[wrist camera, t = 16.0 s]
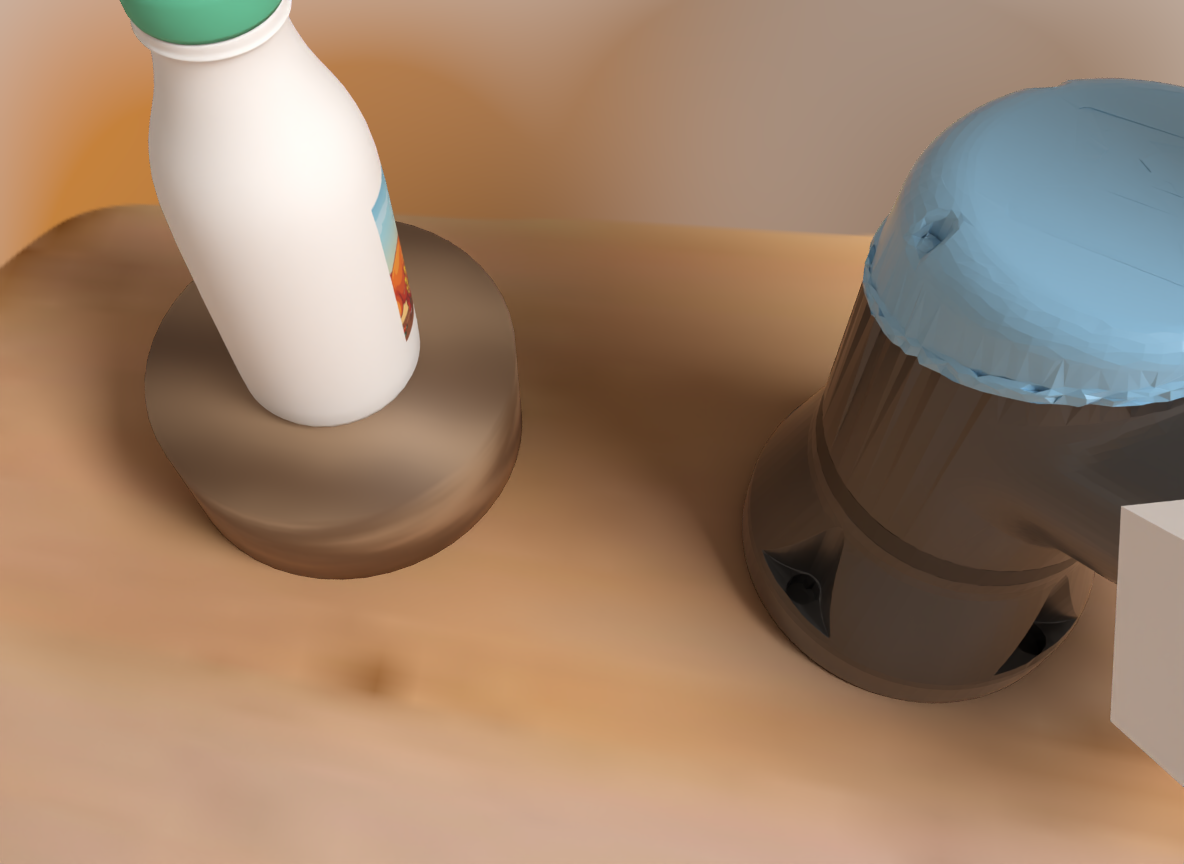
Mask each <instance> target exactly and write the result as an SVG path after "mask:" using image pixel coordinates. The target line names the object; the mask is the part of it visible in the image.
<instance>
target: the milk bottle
mask: <svg viewBox="0 0 1184 864" xmlns="http://www.w3.org/2000/svg"><path fill="white" fill-rule="evenodd" d="M120 2H121V4H122V6H123V8H124V10H125V12H126V14H127V15H128V17H129V18H130V20H131V26H132V29H133V32H134V34H135V35H136V37H137V38H138V39H139V40H140V42H141V43H142V44H143V45H145V46H146V47H147V48H148V49H150V50H151V54H152V60H153V70H154V95H153V103H152V110H151V116H150V125H149V139H148V143H149V161H150V168H151V174H152V179H153V183H154V187H155V190H156V194H157V197H158V200H159V204H160V206H161V209H162V211H163V213H164V216H165V218H166V221H167V223H168V225H169V228H170V230H171V232H172V235H173V237H174V239H175V242H176V244H177V246H178V248H179V250H180V253H181V255H182V257H183V259H184V261H185V263H186V265H187V267H188V269H189V271H190V274H191V276H192V278H193V280H194V282H195V284H196V286H197V288H198V290H199V292H200V294H201V297H202V299H203V301H204V303H205V305H206V307H207V309H208V311H209V313H210V315H211V317H212V319H213V321H214V323H215V325H216V327H217V329H218V331H219V333H220V335H221V337H222V339H223V341H224V343H225V345H226V347H227V349H228V351H229V353H230V355H231V357H232V359H233V361H234V363H235V365H236V367H237V369H238V371H239V373H240V375H241V377H242V379H243V381H244V382H245V384H246V386H247V388H248V389H249V391H250V393H251V394H252V395H253V397H254V398H255V399H256V400H257V401H258V402H259V404H261V405H262V406H263V407H264V408H265V409H267V410H268V411H270V412H271V413H273V414H275V415H277V416H278V417H281V418H283V419H285V420H288V421H291V422H294V423H296V424H299V425H307V426H312V427H335V426H339V425H345V424H351V423H353V422H356V421H359V420H362V419H365V418H367V417H369V416H371V415H372V414H374V413H376V412H378V411H380V410H382V409H383V408H384V407H385V406H386V405H388V404H389V403H390V402H392V401H393V400H394V399H395V398H396V397H397V396H398V394H399V393H400V392H401V391H402V390H403V389H404V388H405V386H406V384H407V382H408V381H409V379H410V378H411V376H412V374H413V372H414V370H415V367H416V365H417V362H418V358H419V352H420V337H419V330H418V324H417V318H416V314H415V309H414V304H413V300H412V295H411V290H410V286H409V281H408V277H407V272H406V268H405V263H404V259H403V254H402V250H401V245H400V241H399V236H398V232H397V228H396V223H395V219H394V215H393V211H392V206H391V202H390V198H389V194H388V190H387V185H386V181H385V177H384V174H383V170H382V166H381V163H380V159H379V156H378V152H377V149H376V145H375V143H374V140H373V138H372V135H371V133H370V131H369V128H368V125H367V123H366V121H365V119H364V117H363V115H362V113H361V112H360V110H359V108H358V106H357V104H356V103H355V101H354V100H353V99H352V97H351V95H350V94H349V93H348V91H347V90H346V88H345V87H344V86H343V85H342V83H341V82H340V81H339V80H338V79H337V78H336V77H335V75H333V74H332V72H331V71H330V70H329V69H328V68H327V67H326V66H325V65H324V64H323V63H322V62H321V61H320V60H319V59H318V58H317V57H316V56H315V54H314V53H313V52H312V51H311V50H310V49H309V47H308V46H307V45H306V44H305V42H304V41H303V39H302V38H301V36H300V35H299V33H298V32H297V30H296V29H295V27H294V25H293V24H292V22H291V20H290V18H289V14H290V10H291V4H292V0H120Z"/></svg>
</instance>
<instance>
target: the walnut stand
mask: <svg viewBox="0 0 1184 864" xmlns="http://www.w3.org/2000/svg"><path fill="white" fill-rule="evenodd" d="M395 223H396V228H397V232H398V236H399V241H400V245H401V250H402V254H403V259H404V263H405V268H406V272H407V277H408V281H409V286H410V290H411V295H412V300H413V304H414V309H415V314H416V318H417V324H418V330H419V337H420V352H419V358H418V362H417V365H416V367H415V370H414V372H413V374H412V376H411V378H410V379H409V381H408V382H407V384H406V386H405V388H404V389H403V390H402V391H401V392H400V393H399V394H398V396H397V397H396V398H395V399H394V400H393V401H392V402H390V403H389V404H388V405H386V406H385V407H384V408H383V409H382V410H380V411H378V412H376V413H374V414H372V415H371V416H369V417H367V418H365V419H362V420H359V421H356V422H353V423H351V424H345V425H339V426H335V427H312V426H307V425H299V424H296V423H294V422H291V421H288V420H285V419H283V418H281V417H278V416H277V415H275V414H273V413H271V412H270V411H268V410H267V409H265V408H264V407H263V406H262V405H261V404H259V402H258V401H257V400H256V399H255V398H254V397H253V395H252V394H251V393H250V391H249V389H248V388H247V386H246V384H245V382H244V381H243V379H242V377H241V375H240V373H239V371H238V369H237V367H236V365H235V363H234V361H233V359H232V357H231V355H230V353H229V351H228V349H227V347H226V345H225V343H224V341H223V339H222V337H221V335H220V333H219V331H218V329H217V327H216V325H215V323H214V321H213V319H212V317H211V315H210V313H209V311H208V309H207V307H206V305H205V303H204V301H203V299H202V297H201V294H200V292H199V290H198V288H197V286H196V284H195V282H194V280H193V281H192V282H191V283H190V284H189V285H188V286H187V287H186V288H185V289H184V291H183V292H182V293H181V294H180V295H179V297H178V298H177V299H176V300H175V302H174V303H173V304H172V306H171V307H170V309H169V311H168V312H167V314H166V315H165V317H164V318H163V320H162V322H161V324H160V326H159V328H158V331H157V333H156V335H155V337H154V339H153V342H152V346H151V349H150V352H149V356H148V359H147V366H146V373H145V401H146V407H147V412H148V417H149V421H150V423H151V426H152V429H153V431H154V434H155V437H156V439H157V441H158V442H159V444H160V446H161V447H162V449H163V451H164V452H165V454H166V456H167V457H168V459H169V460H170V462H171V463H172V465H173V466H174V468H175V469H176V471H177V472H178V473H179V475H180V476H181V478H182V479H183V481H184V482H185V484H186V485H187V487H188V488H189V489H190V491H191V492H192V494H193V495H194V497H195V498H196V500H197V501H198V503H199V504H200V506H201V507H202V508H203V510H204V511H205V513H206V514H207V516H208V517H209V519H210V520H211V521H212V523H213V524H214V525H215V526H216V527H217V529H218V530H219V531H220V532H221V533H222V535H223V536H225V537H226V538H227V539H228V540H229V541H230V542H231V543H233V544H234V545H235V546H236V547H237V548H238V549H240V550H241V551H243V552H245V553H246V554H248V555H249V556H251V557H252V558H254V559H256V560H258V561H260V562H262V563H264V564H266V565H269V566H271V567H273V568H275V569H278V570H282V571H285V572H288V573H292V574H295V575H300V576H306V577H312V578H319V579H354V578H366V577H371V576H376V575H381V574H385V573H390V572H393V571H396V570H399V569H402V568H405V567H408V566H411V565H414V564H416V563H418V562H420V561H422V560H424V559H426V558H429V557H431V556H433V555H435V554H436V553H438V552H440V551H441V550H443V549H444V548H446V547H448V546H449V545H451V544H452V543H454V542H455V541H456V540H458V539H459V538H460V537H461V536H463V535H464V534H465V533H466V532H468V531H469V530H470V529H471V528H472V527H473V526H474V525H475V524H476V523H477V522H478V521H479V520H480V519H481V518H482V517H483V516H484V515H485V514H486V513H487V512H488V510H489V509H490V508H491V506H492V505H493V504H494V502H495V501H496V500H497V498H498V497H499V495H500V494H501V492H502V490H503V488H504V486H505V485H506V483H507V481H508V479H509V477H510V475H511V472H512V470H513V467H514V465H515V462H516V459H517V455H518V451H519V446H520V442H521V432H522V413H521V400H520V389H519V378H518V367H517V356H516V345H515V334H514V329H513V325H512V321H511V316H510V313H509V310H508V308H507V306H506V303H505V301H504V298H503V296H502V295H501V293H500V291H499V290H498V288H497V286H496V285H495V283H494V282H493V280H492V279H491V278H490V276H489V275H488V274H487V273H486V272H485V271H484V269H483V268H482V267H481V266H480V265H479V264H478V263H477V262H476V261H475V260H474V259H472V258H471V257H470V256H469V255H468V254H467V253H466V252H464V251H463V250H461V249H460V248H458V247H457V246H455V245H454V244H452V243H451V242H449V241H447V240H445V239H443V238H441V237H439V236H437V235H435V234H433V233H431V232H429V231H426V230H423V229H421V228H418V227H415V226H412V225H409V224H404V223H400V222H396V221H395Z"/></svg>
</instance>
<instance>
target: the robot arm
mask: <svg viewBox="0 0 1184 864" xmlns="http://www.w3.org/2000/svg"><path fill="white" fill-rule="evenodd" d="M742 539H743V547H744V553H745V558H746V563H747V566H748V570H749V573H750V576H751V579H752V581H753V584H754V586H755V588H756V591H757V593H758V595H759V597H760V599H761V600H762V602H763V604H764V606H765V608H766V609H767V611H768V612H769V614H770V615H771V617H772V618H773V620H774V621H775V622H776V624H777V625H778V626H779V628H780V629H781V630H782V631H783V632H784V633H785V635H786V636H787V637H788V638H789V639H790V640H791V641H792V642H793V643H794V644H795V645H796V646H797V647H798V648H799V649H800V650H801V651H802V652H804V653H805V654H806V655H807V656H808V657H810V658H811V659H812V660H813V661H815V662H816V663H817V664H819V665H820V666H822V667H823V668H825V669H826V670H828V671H829V672H831V673H832V674H834V675H836V676H838V677H839V678H841V679H843V680H845V681H847V682H849V683H851V684H853V685H855V686H858V687H860V688H863V689H865V690H867V691H870V692H873V693H876V694H879V695H883V696H887V697H891V698H895V699H900V700H905V701H913V702H923V703H948V702H957V701H964V700H969V699H974V698H978V697H982V696H985V695H988V694H991V693H993V692H996V691H999V690H1001V689H1003V688H1005V687H1007V686H1009V685H1011V684H1013V683H1014V682H1016V681H1018V680H1019V679H1021V678H1022V677H1024V676H1025V675H1027V674H1028V673H1029V672H1031V671H1032V670H1033V669H1034V668H1035V667H1036V666H1038V665H1039V664H1040V663H1041V662H1042V661H1043V660H1044V659H1046V658H1047V657H1048V656H1049V655H1050V654H1051V653H1052V652H1054V651H1055V650H1056V649H1057V647H1058V646H1059V645H1060V644H1061V643H1062V642H1063V641H1064V640H1065V639H1066V637H1067V636H1068V635H1069V633H1070V632H1071V630H1072V629H1073V627H1074V626H1075V624H1076V623H1077V621H1078V619H1079V617H1080V615H1081V614H1082V612H1083V610H1084V607H1085V605H1086V603H1087V600H1088V597H1089V594H1090V591H1091V588H1092V583H1093V578H1094V573H1095V572H1097V573H1098V574H1100V575H1101V576H1103V577H1105V578H1106V579H1108V580H1110V581H1111V582H1114V583H1116V584H1117V599H1116V618H1115V638H1114V658H1113V678H1112V697H1111V717H1110V721H1111V722H1112V723H1113V724H1114V725H1115V726H1116V727H1117V728H1119V729H1120V730H1121V731H1122V732H1123V733H1124V734H1125V735H1126V736H1127V737H1128V738H1130V739H1131V740H1132V741H1133V742H1134V743H1135V744H1136V745H1137V746H1138V747H1140V748H1141V749H1142V750H1143V751H1144V752H1145V753H1146V754H1147V755H1148V756H1150V757H1151V758H1152V759H1153V760H1154V761H1155V762H1156V763H1157V764H1158V765H1159V766H1161V767H1162V768H1163V769H1164V770H1165V771H1166V772H1167V773H1168V774H1169V775H1171V776H1172V777H1173V778H1174V779H1175V780H1176V781H1177V782H1178V783H1179V784H1181V785H1182V786H1183V787H1184V87H1182V86H1176V85H1172V84H1167V83H1161V82H1154V81H1145V80H1135V79H1122V78H1096V79H1077V80H1068V81H1066V82H1063V83H1061V84H1060V85H1058V86H1057V87H1046V88H1027V89H1023V90H1019V91H1016V92H1013V93H1010V94H1007V95H1005V96H1002V97H999V98H997V99H995V100H992V101H990V102H988V103H986V104H984V105H982V106H980V107H978V108H977V109H975V110H973V111H971V112H970V113H968V114H966V115H964V116H963V117H961V118H960V119H958V120H957V121H955V122H954V123H953V124H952V125H950V126H949V127H948V128H946V129H945V130H944V131H943V132H942V133H941V134H939V135H938V136H937V137H936V138H935V139H934V140H933V141H932V142H931V144H930V145H929V146H928V147H927V148H926V149H925V150H924V152H923V153H922V154H921V156H920V157H919V158H918V160H917V161H916V162H915V164H914V166H913V167H912V169H911V170H910V172H909V174H908V176H907V178H906V180H905V182H904V184H903V186H902V188H901V190H900V192H899V195H898V197H897V199H896V201H895V203H894V206H893V208H892V210H891V212H890V214H889V215H888V216H887V217H886V219H885V220H884V221H883V222H882V224H881V226H880V227H879V228H878V230H877V232H876V233H875V235H874V237H873V239H872V241H871V244H870V252H869V255H868V257H867V259H866V261H865V268H864V277H863V282H862V284H861V287H860V290H859V293H858V296H857V299H856V302H855V304H854V307H853V310H852V313H851V316H850V319H849V321H848V324H847V327H846V330H845V333H844V336H843V338H842V341H841V344H840V347H839V350H838V353H837V355H836V358H835V361H834V364H833V367H832V370H831V372H830V375H829V378H828V382H827V384H826V385H825V386H824V387H823V388H821V389H820V390H819V391H818V392H817V393H815V394H814V395H813V396H812V397H811V398H809V399H808V400H807V401H806V402H804V403H803V404H802V405H800V406H799V407H798V408H797V409H795V410H794V411H793V412H792V413H791V414H790V415H789V416H788V417H786V418H785V420H784V421H783V422H782V423H781V424H780V425H779V426H778V427H777V429H776V430H775V431H774V433H773V434H772V435H771V437H770V438H769V440H768V442H767V443H766V445H765V446H764V448H763V450H762V452H761V454H760V456H759V458H758V460H757V463H756V465H755V468H754V471H753V474H752V477H751V481H750V484H749V488H748V491H747V494H746V498H745V503H744V509H743V518H742Z"/></svg>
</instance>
